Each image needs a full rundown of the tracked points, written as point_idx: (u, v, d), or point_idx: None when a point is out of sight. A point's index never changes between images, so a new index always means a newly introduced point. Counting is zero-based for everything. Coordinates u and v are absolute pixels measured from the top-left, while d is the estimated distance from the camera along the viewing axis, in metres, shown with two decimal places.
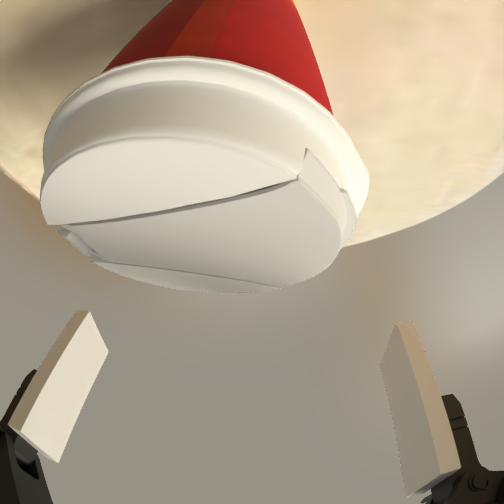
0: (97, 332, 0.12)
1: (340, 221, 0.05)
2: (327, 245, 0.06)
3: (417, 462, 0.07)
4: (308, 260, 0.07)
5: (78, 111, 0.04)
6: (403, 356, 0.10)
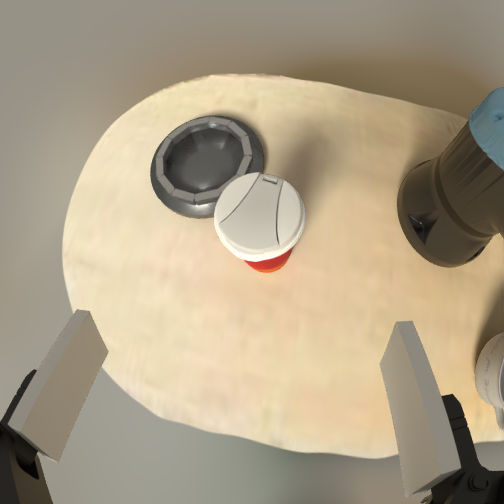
0: (97, 332, 0.12)
1: (258, 250, 0.24)
2: (250, 245, 0.24)
3: (417, 462, 0.07)
4: (241, 238, 0.24)
5: (301, 211, 0.25)
6: (403, 356, 0.10)
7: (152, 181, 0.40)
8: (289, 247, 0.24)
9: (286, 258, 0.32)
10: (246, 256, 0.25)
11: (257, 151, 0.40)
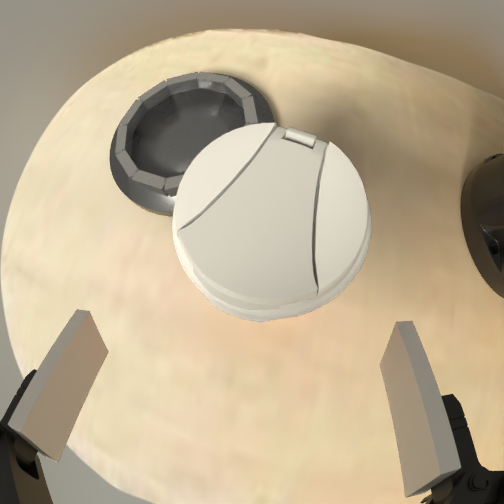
0: (97, 332, 0.12)
1: (267, 300, 0.10)
2: (247, 287, 0.10)
3: (417, 462, 0.07)
4: (227, 269, 0.10)
5: None
6: (403, 356, 0.10)
7: (111, 160, 0.26)
8: (337, 292, 0.10)
9: None
10: (238, 309, 0.10)
11: (265, 120, 0.26)
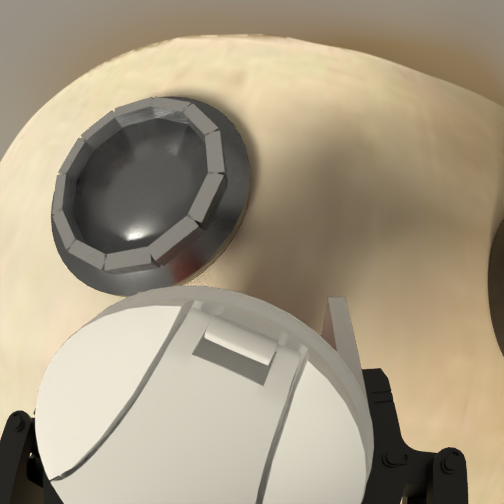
0: None
1: None
2: None
3: None
4: None
5: None
6: (330, 328, 0.11)
7: (52, 218, 0.20)
8: None
9: None
10: None
11: (238, 163, 0.20)
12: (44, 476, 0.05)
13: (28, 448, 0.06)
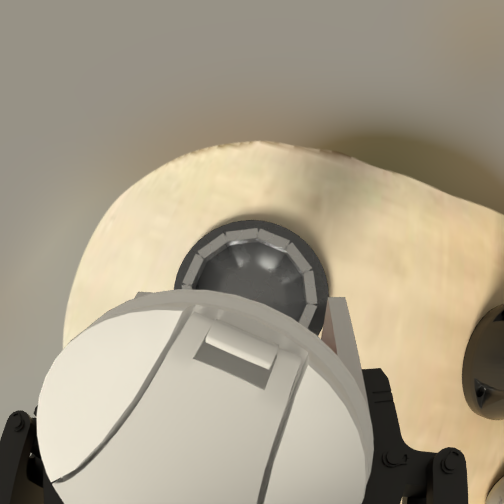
0: None
1: None
2: None
3: None
4: None
5: None
6: (331, 329, 0.11)
7: None
8: None
9: None
10: None
11: (321, 290, 0.30)
12: (44, 476, 0.05)
13: (28, 448, 0.06)
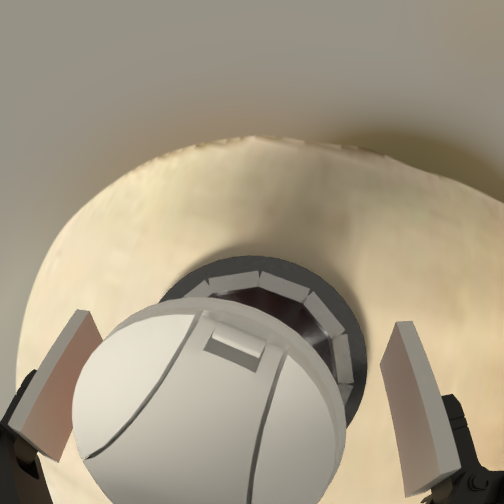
0: (97, 332, 0.12)
1: None
2: None
3: (417, 462, 0.07)
4: None
5: None
6: (403, 356, 0.10)
7: None
8: None
9: None
10: None
11: (357, 358, 0.19)
12: None
13: None
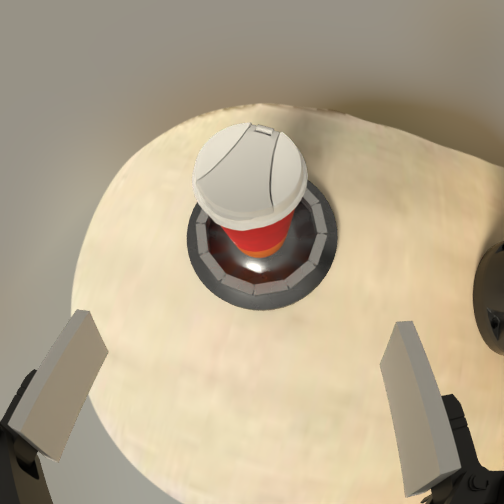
0: (97, 332, 0.12)
1: (245, 213, 0.18)
2: (234, 207, 0.18)
3: (417, 462, 0.07)
4: (224, 198, 0.18)
5: (302, 169, 0.19)
6: (403, 356, 0.10)
7: (190, 255, 0.32)
8: (286, 213, 0.19)
9: (282, 237, 0.26)
10: (230, 223, 0.19)
11: (329, 224, 0.32)
12: None
13: None
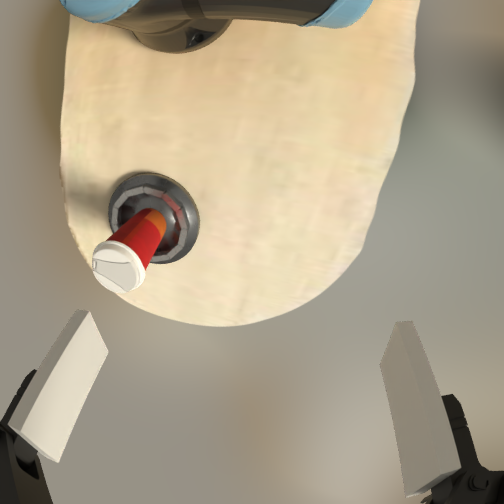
0: (97, 332, 0.12)
1: (136, 272, 0.36)
2: (134, 277, 0.36)
3: (417, 462, 0.07)
4: (131, 281, 0.36)
5: (108, 243, 0.35)
6: (403, 356, 0.10)
7: (172, 261, 0.51)
8: (131, 251, 0.35)
9: (148, 224, 0.42)
10: (142, 275, 0.37)
11: (137, 180, 0.44)
12: None
13: None
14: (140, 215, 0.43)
